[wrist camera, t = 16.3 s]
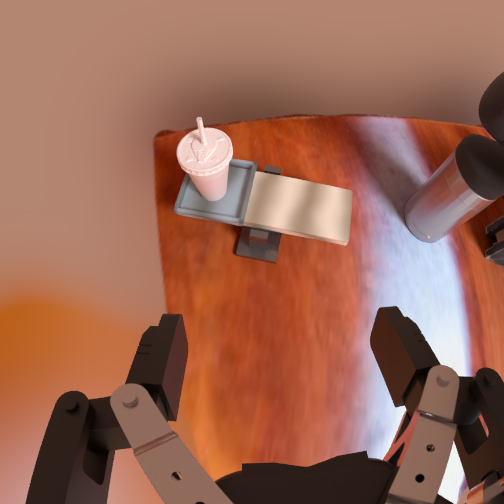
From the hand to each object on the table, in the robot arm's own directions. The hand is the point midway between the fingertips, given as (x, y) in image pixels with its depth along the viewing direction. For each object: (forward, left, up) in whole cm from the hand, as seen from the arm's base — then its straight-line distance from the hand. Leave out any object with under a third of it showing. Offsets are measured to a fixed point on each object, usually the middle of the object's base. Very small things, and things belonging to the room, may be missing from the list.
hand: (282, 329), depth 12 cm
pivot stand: (-14, -12, -31) cm, 36 cm away
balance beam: (-14, -12, -26) cm, 32 cm away
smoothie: (-10, -18, -25) cm, 33 cm away
